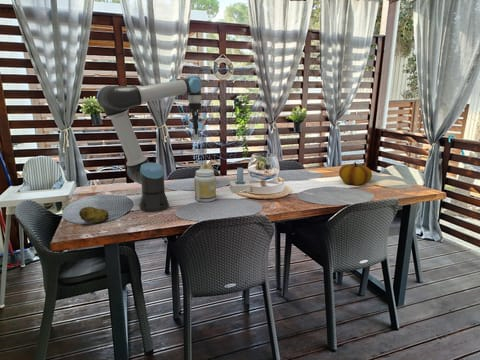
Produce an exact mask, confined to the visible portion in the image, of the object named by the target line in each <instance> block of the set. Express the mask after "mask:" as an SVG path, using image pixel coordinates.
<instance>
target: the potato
mask: <svg viewBox="0 0 480 360" xmlns="http://www.w3.org/2000/svg"><path fill="white" fill-rule="evenodd" d="M78 215H79V216H80V220H82V221H84V222H89V223H96V224H97V223H101V222H104V221H105V220H107V219H108V217H109V211H108V210H106V209H103V208H97V207H95V206H84V207H83V208H81V209H80V210H79V211H78Z"/></svg>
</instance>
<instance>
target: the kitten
mask: <svg viewBox="0 0 480 360" xmlns="http://www.w3.org/2000/svg"><path fill="white" fill-rule="evenodd" d="M212 164H213V163H212V160H210V161H208V163H204V164H202V165H200V167H199V169H198V170H200V169H211V170H214V167H213V166H212ZM214 171H215V170H214Z"/></svg>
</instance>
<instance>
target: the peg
mask: <svg viewBox="0 0 480 360" xmlns="http://www.w3.org/2000/svg"><path fill="white" fill-rule="evenodd" d="M236 168H237V169H236V181H237V184H243V180H244V167H236Z"/></svg>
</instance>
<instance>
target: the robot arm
mask: <svg viewBox="0 0 480 360" xmlns="http://www.w3.org/2000/svg"><path fill="white" fill-rule="evenodd" d="M202 86H203V84H202V79H201V76H200V75H188V76H187V78H186V77H185V78H170V79H169V81H165V82H159V83H155V84H148V85H143V86H138V85H135V84H133V85H128V86H127V85H105V86H103V87H101V88H100V89H99V90H98V91H97V94H96V102H97V104H98V105H99V107H101V108H102V109H103V111H104V112H103V113H104V114H105V116H106V117H107V118H109V119H110V120H111V123H112V126H113V128H114V131H115V133H116V136H117V137H118V140H119V143H120V145H121V148H122V150H123V153H124V155H125V157H126V160H127V161H126V163H125V164H126V168H127V169H126V171H127V172H126V173H127V176H128V177H129V179H131V181H133V182H134V183H137V184H140V185H141V198H140V202H139V209H140V210H141V211H142V212H149V213H152V212H154V213H155V212H161V211H164V210H167V209H169V207H170V204H169V200H168V198H167V195H166V192H165V191H166V190H165V171H164V166H163V165H162V164H160V163H157V162H150V161H149V159H148V156H146V155H144V154H143V151H142V148H141V146H140V143H139V140H138V138H137V136H136V133H135V131H134V128H133V125H132V122H131V119H130V117H129V115H128V112H129V110H130V108H135V107H140V106H141V105H142V104H143V103H147V102H153V101H157V100H162V99H167V98H172V97H176V96H177V97H178V96H180V95H187V94H188V95H187V98H188V99H187V100H188V110H191V111H192V112H191V118H192V134H193V135H192V136H193V141H199V115H200V114H199V111H200V110H202V103H201V102H202V99H203V96H202V89H203V88H202ZM198 110H199V111H198Z"/></svg>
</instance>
